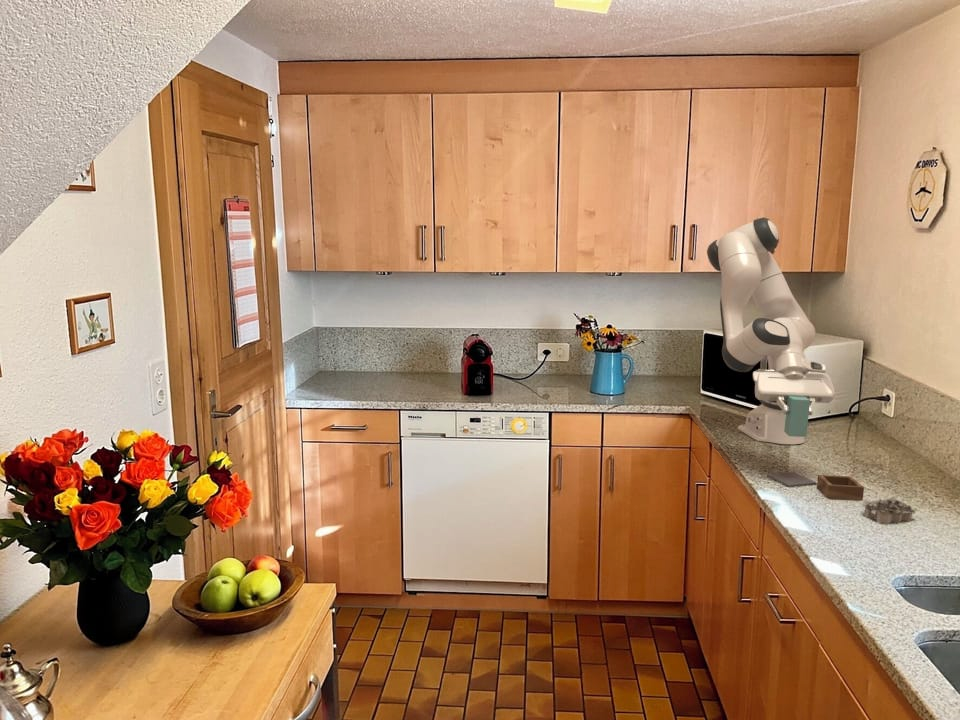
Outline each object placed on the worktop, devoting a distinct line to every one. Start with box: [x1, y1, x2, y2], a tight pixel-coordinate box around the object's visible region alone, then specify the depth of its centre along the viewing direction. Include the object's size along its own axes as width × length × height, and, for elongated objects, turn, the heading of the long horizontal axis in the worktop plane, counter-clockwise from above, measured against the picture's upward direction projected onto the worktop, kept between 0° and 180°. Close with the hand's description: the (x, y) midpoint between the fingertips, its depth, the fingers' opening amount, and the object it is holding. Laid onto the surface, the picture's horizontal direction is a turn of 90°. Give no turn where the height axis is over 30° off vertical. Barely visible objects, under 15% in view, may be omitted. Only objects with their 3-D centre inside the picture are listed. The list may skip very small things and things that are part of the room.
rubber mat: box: [765, 471, 817, 488], centre depth 207 cm, size 9×9×1 cm
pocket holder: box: [816, 474, 865, 501], centre depth 197 cm, size 8×8×4 cm
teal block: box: [784, 396, 810, 438], centre depth 204 cm, size 4×4×10 cm
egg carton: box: [861, 496, 918, 525], centre depth 182 cm, size 11×8×4 cm
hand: (798, 413), depth 203 cm, fingers closed on teal block, 4 cm apart
